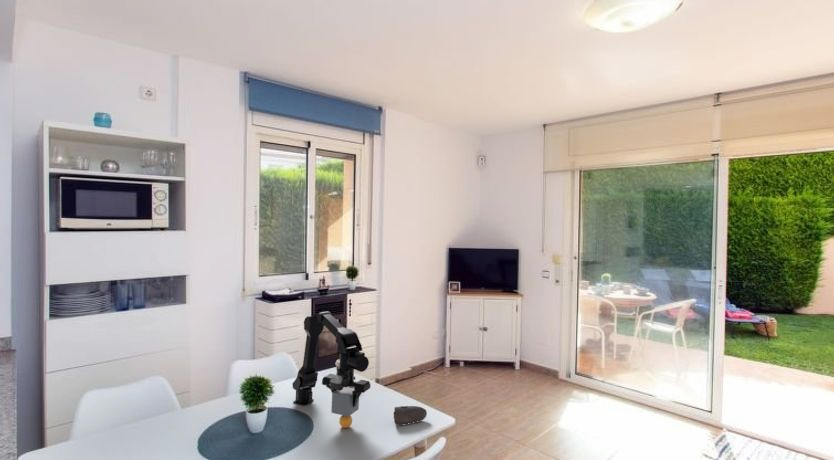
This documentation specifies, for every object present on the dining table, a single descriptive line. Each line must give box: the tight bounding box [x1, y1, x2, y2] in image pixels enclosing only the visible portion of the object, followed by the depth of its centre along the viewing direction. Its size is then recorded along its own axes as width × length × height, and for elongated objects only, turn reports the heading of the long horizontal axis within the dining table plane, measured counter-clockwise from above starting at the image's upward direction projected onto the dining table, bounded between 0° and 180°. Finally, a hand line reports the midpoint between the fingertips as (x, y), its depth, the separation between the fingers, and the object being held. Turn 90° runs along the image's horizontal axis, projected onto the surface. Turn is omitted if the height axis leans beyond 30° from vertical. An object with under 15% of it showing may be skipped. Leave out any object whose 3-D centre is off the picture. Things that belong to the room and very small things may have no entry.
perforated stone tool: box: [393, 405, 428, 426], centre depth 172 cm, size 15×5×7 cm, turn 111°
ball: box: [338, 415, 353, 429], centre depth 166 cm, size 5×5×5 cm
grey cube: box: [331, 386, 360, 417], centre depth 166 cm, size 8×8×8 cm
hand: (345, 404), depth 166 cm, fingers closed on grey cube, 8 cm apart
